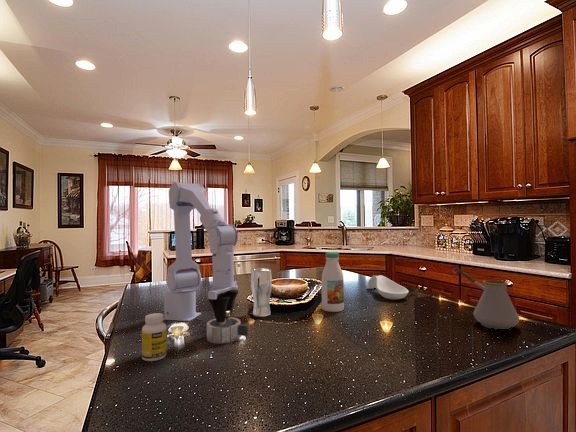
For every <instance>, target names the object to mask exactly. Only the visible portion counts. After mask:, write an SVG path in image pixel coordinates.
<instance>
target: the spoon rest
mask: <svg viewBox="0 0 576 432" xmlns="http://www.w3.org/2000/svg"><path fill="white" fill-rule="evenodd" d="M374 288H376V289H377V291H378V294H379V295H381V297H383V298H384V299H386V300H391V301H394V300H395V301H396V300H397V301H398V300H401V299H404V298H406V297H407V295H408V294H409V290H408V289H407V288H406V287H405V286H402V285H400V284H399V283H397V282H395V281H393V280H391V279H390V278H388V277H387V276H384V275H382V274H381V275H380V274H379V275H372V276H371V277H370V278H369V280H368V282H367V289H369V290H373V289H374Z"/></svg>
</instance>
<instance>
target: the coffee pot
mask: <svg viewBox="0 0 576 432" xmlns="http://www.w3.org/2000/svg"><path fill="white" fill-rule="evenodd" d="M454 270H455V271H454ZM452 273H454V274H456V273H459V274H461V275H462V276H463V277H464V278H465V279H467V280H469V281H470V282H471V283H473V284H475V285H476V286H478V287H479V288H480V289H481V290H483V292H482V294H481V297H479V300H478V302H477V305H476V307H475V309H474V310H473V312H472V314H473V316H474V318H475V320H476V321H477V322H479V323H480V325H481V326H483V327H484V328H488V329H491V328H494V329H493V330H497V329H509V328H511V327H512V328H514V327H515V326H517V325H518V323H519V322H520V316H519V315H518V313H517V310H516V308H515V306H514V305H513V303H512V300H511V298H510V296H509V294H508V291H507V286H508V285H509V282H507V281H504V280H497V279H491V280H490V279H486V280H485V279H484V280H483V281H482V283H483V284H484V285H482V284H481V283H480V282H478V281H477V280H476V279H474V278H473V277H472V276H471V275H469V274H468V273H467V272H464V271H463V270H462V269H460V268H458V267H454V268H453V269H452ZM512 328H511V329H512ZM509 330H510V329H509Z"/></svg>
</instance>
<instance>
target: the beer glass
mask: <svg viewBox="0 0 576 432" xmlns="http://www.w3.org/2000/svg"><path fill="white" fill-rule="evenodd" d="M272 282H273V280H272V269H271V268H267V267H258V268H257V267H256V268H252V269H251V276H250V286H251V287H250V288H251V293H252V299H253V309H252V316H253V317H260V318H264V317H268V316H270V315H271V307H270V305H271V304H270V299H271V295H272V287H273V283H272Z"/></svg>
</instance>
